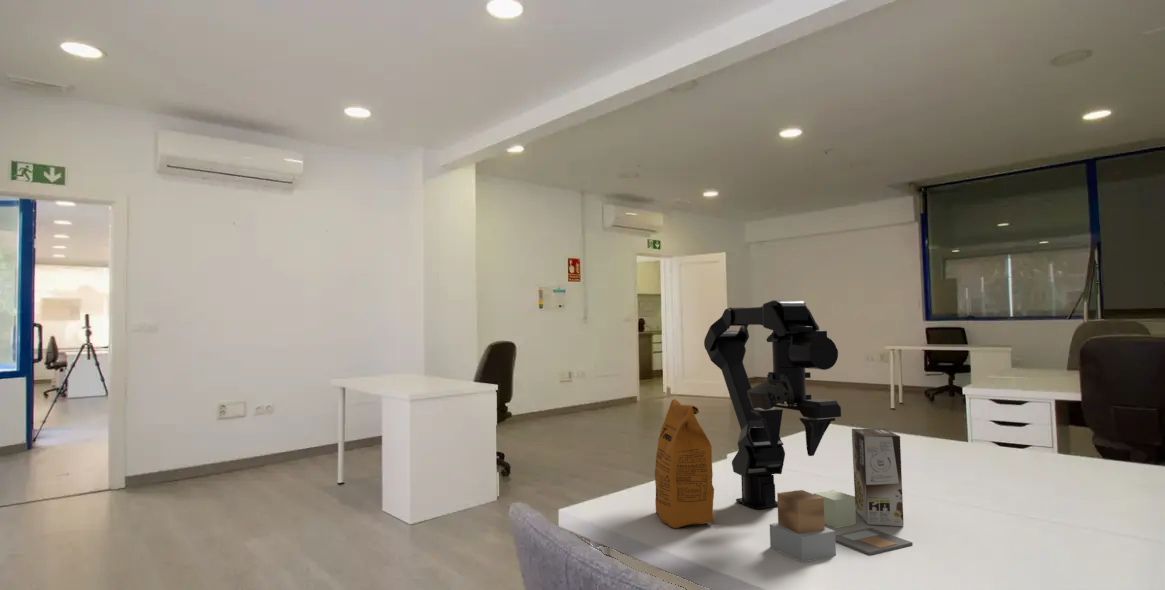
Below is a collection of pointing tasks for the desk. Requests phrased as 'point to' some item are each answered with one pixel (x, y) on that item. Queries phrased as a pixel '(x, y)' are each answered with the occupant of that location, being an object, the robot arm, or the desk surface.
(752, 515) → the desk surface
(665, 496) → the coffee package
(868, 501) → the coffee box
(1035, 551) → the desk surface
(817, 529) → the walnut block
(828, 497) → the sage block
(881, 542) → the card
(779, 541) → the slate base block
